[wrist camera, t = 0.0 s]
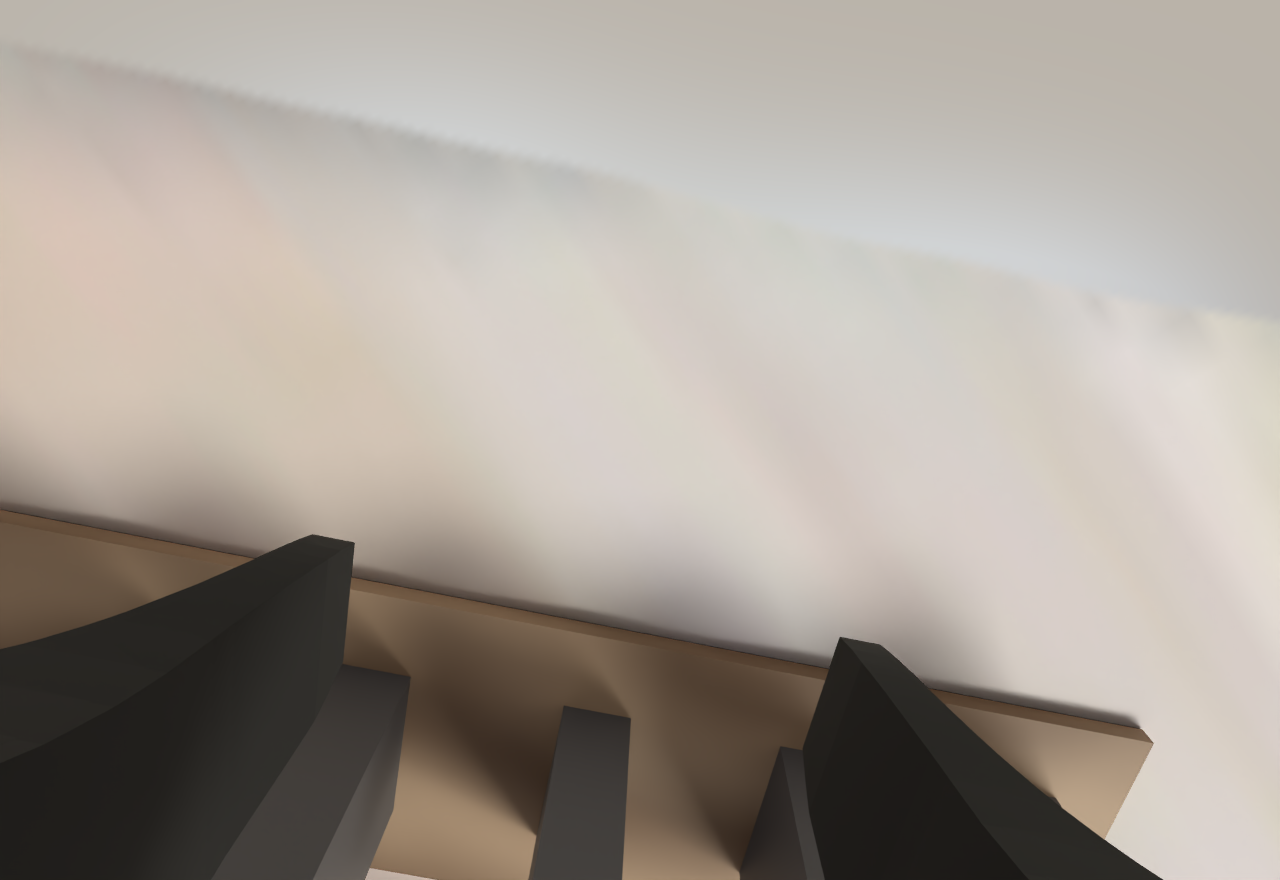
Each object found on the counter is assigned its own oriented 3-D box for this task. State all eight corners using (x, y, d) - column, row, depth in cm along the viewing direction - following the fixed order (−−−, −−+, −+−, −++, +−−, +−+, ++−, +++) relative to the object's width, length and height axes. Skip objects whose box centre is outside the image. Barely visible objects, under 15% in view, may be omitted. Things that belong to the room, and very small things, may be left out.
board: (1022, 967, 27) (1029, 984, 27) (-124, 763, 26) (-142, 777, 25) (1142, 729, 24) (1153, 743, 23) (-164, 478, 22) (-185, 486, 22)
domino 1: (410, 676, 23) (290, 925, 16) (393, 809, 25) (276, 1092, 17) (341, 663, 23) (188, 907, 16) (329, 798, 25) (183, 1077, 17)
